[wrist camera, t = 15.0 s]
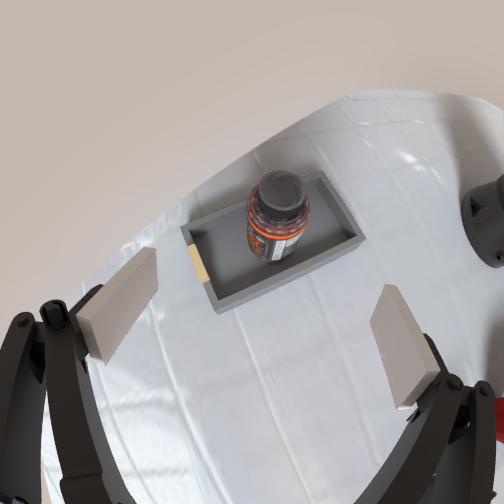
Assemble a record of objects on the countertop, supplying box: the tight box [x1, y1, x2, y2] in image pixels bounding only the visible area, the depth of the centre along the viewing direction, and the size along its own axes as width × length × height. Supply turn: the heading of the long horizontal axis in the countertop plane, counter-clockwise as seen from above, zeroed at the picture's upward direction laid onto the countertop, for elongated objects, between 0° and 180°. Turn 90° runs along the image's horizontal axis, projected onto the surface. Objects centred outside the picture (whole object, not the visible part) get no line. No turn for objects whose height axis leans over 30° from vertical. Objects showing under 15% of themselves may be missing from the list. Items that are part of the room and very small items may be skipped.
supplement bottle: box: [247, 171, 311, 262], centre depth 27 cm, size 6×6×11 cm
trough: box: [180, 171, 366, 315], centre depth 31 cm, size 19×10×5 cm, turn 115°
